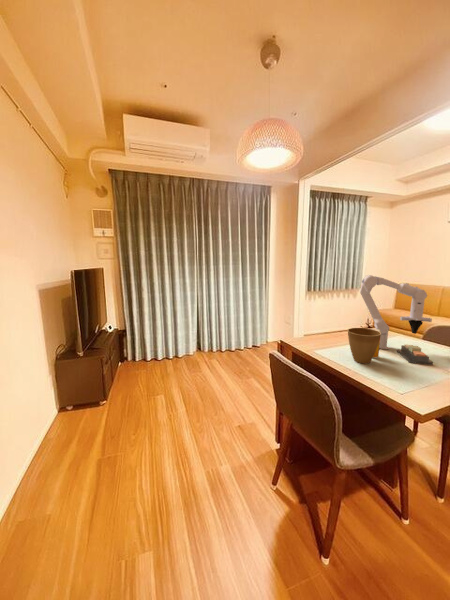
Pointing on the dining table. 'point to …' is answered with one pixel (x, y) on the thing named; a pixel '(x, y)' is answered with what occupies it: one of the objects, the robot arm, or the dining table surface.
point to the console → (413, 357)
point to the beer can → (377, 347)
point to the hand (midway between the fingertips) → (413, 333)
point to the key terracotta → (419, 353)
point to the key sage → (414, 348)
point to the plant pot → (363, 343)
